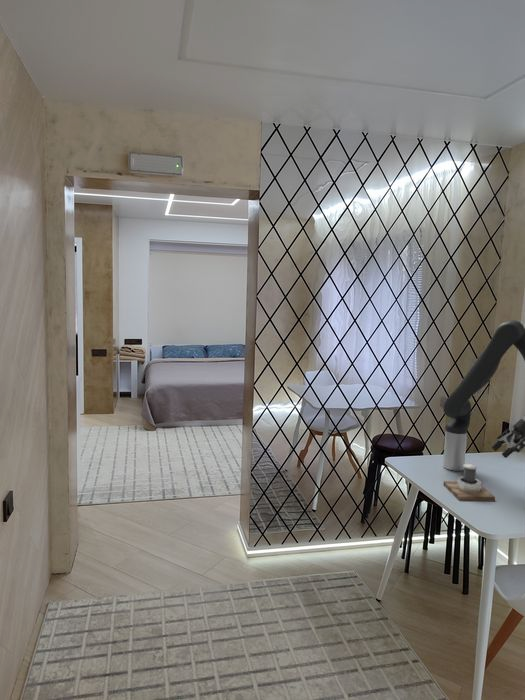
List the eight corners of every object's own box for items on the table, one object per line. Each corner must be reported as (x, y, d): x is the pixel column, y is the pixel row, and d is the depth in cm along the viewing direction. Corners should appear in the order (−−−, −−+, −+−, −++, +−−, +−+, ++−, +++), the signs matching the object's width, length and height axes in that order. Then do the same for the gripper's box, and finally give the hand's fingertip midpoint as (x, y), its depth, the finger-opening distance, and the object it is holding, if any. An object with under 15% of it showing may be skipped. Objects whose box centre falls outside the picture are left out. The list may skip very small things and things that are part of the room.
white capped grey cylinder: (459, 486, 204) (461, 463, 203) (472, 486, 204) (473, 463, 203) (465, 491, 199) (466, 467, 198) (477, 491, 199) (479, 468, 198)
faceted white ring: (453, 484, 205) (454, 476, 205) (474, 485, 206) (474, 476, 205) (462, 492, 197) (462, 484, 197) (483, 493, 197) (484, 484, 197)
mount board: (443, 484, 209) (443, 481, 209) (476, 485, 209) (476, 481, 209) (458, 500, 193) (459, 496, 193) (494, 500, 194) (495, 497, 193)
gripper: (513, 414, 205) (484, 441, 207) (532, 423, 191) (500, 451, 192) (525, 427, 206) (495, 453, 207) (545, 436, 192) (513, 465, 193)
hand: (498, 452), depth 200 cm, fingers open, 8 cm apart
